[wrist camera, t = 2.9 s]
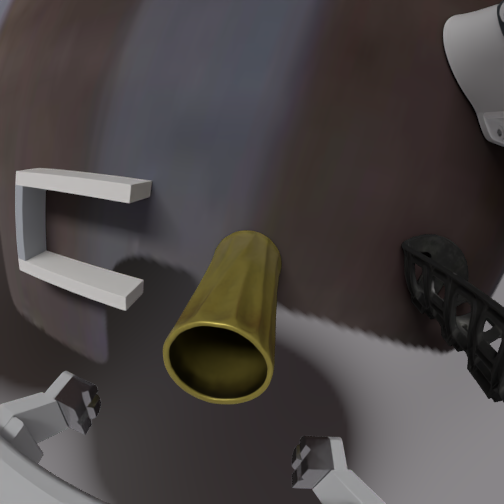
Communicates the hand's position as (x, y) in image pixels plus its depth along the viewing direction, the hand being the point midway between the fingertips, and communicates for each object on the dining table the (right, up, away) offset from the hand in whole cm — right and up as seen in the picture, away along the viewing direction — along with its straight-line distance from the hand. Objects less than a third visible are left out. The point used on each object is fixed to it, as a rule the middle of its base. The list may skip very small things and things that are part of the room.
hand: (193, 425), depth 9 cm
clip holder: (-16, +9, +17) cm, 25 cm away
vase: (+2, +6, +17) cm, 18 cm away
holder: (+21, +4, +15) cm, 26 cm away
